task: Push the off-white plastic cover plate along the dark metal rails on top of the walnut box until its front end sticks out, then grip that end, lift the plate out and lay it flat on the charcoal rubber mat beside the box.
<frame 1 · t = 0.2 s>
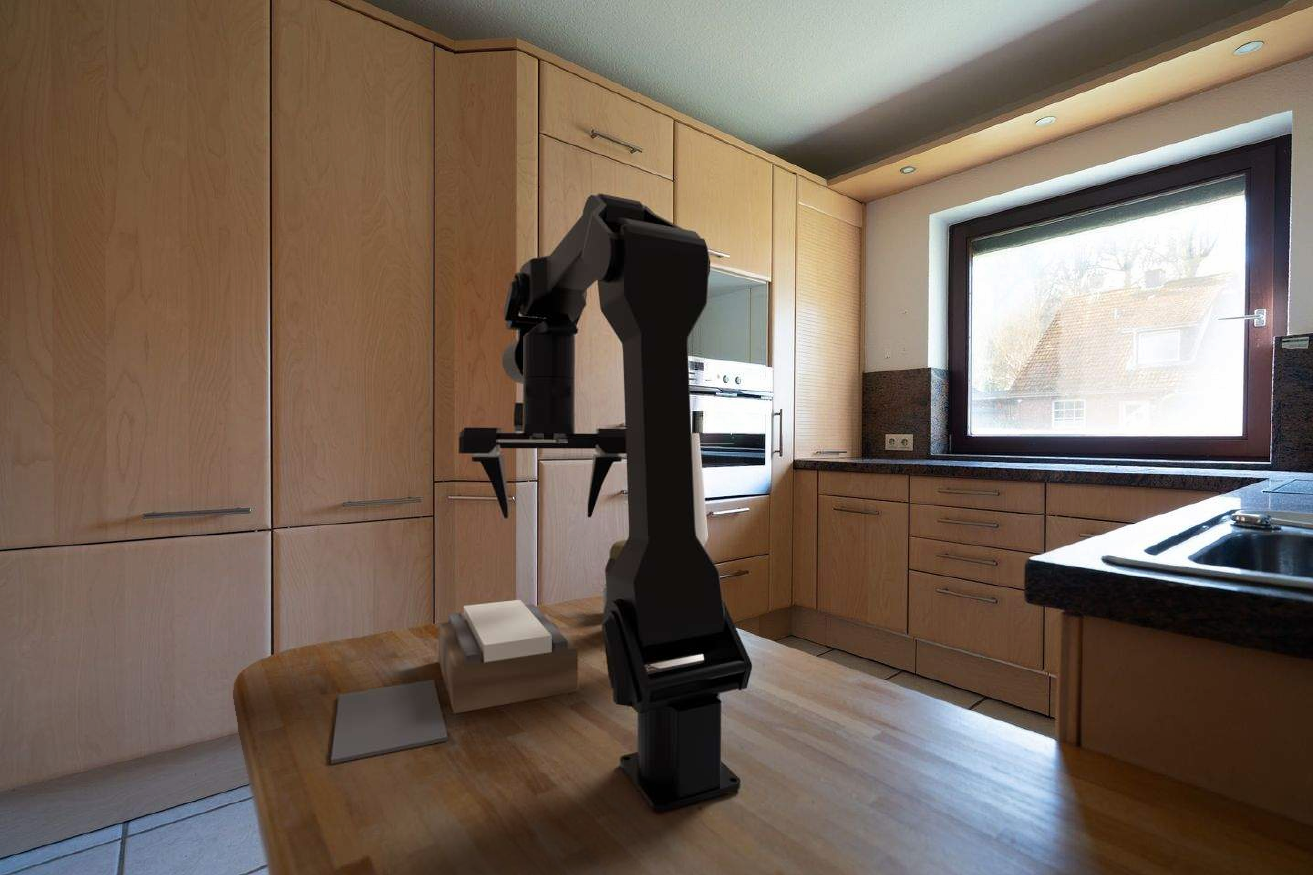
hand: (548, 517, 68), 14 cm above the table, tool pointing down, fingers open, 9 cm apart
lid box: (504, 675, 60), on the table
champagne flute: (675, 660, 65), on the table
cork: (630, 633, 73), on the table
cover plate: (504, 634, 60), point 4 cm above the table, touching lid box
lighter: (614, 614, 81), on the table
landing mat: (389, 717, 51), on the table
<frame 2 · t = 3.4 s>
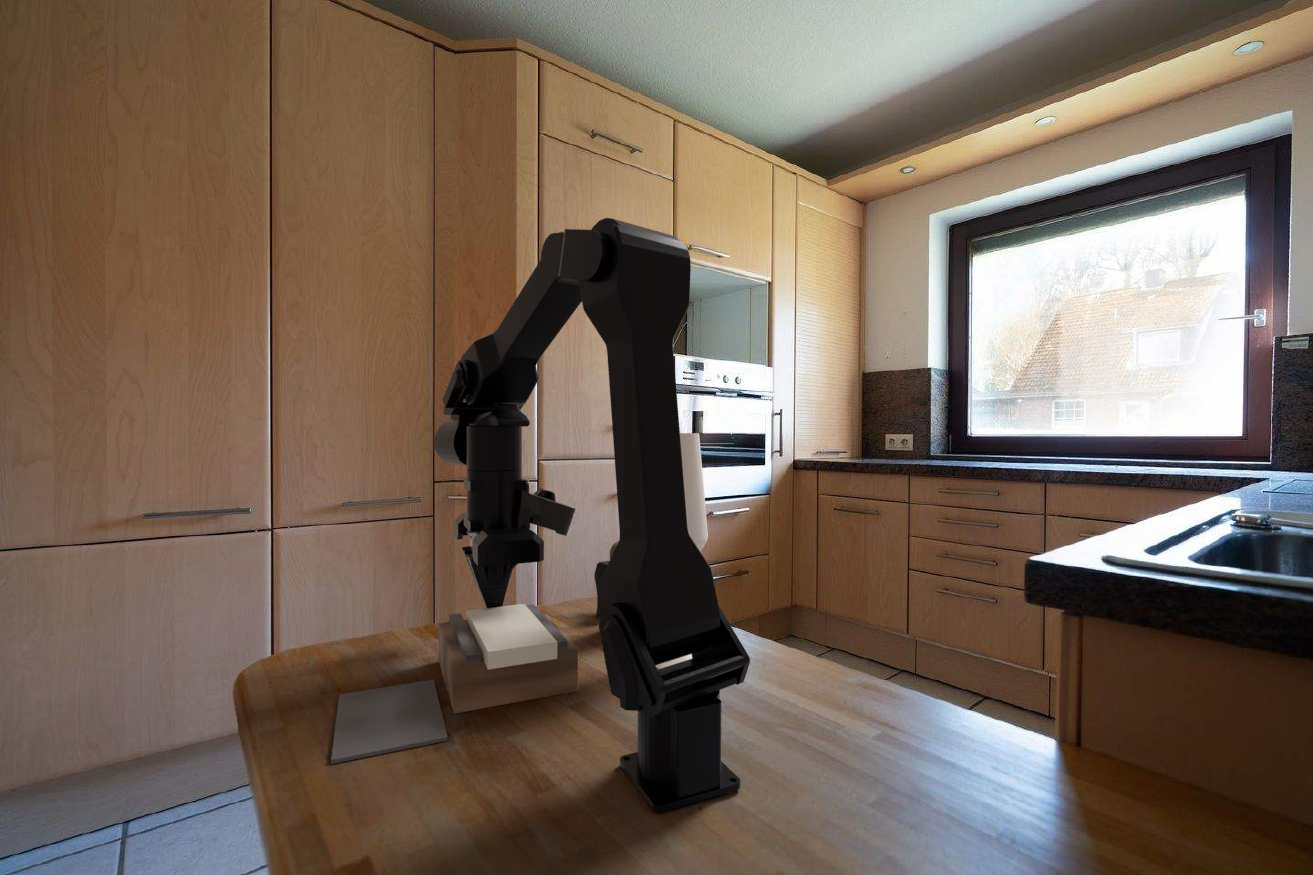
hand: (494, 615, 65), 4 cm above the table, tool pointing down, fingers closed
cover plate: (508, 640, 58), point 4 cm above the table, touching gripper
everything else where it was.
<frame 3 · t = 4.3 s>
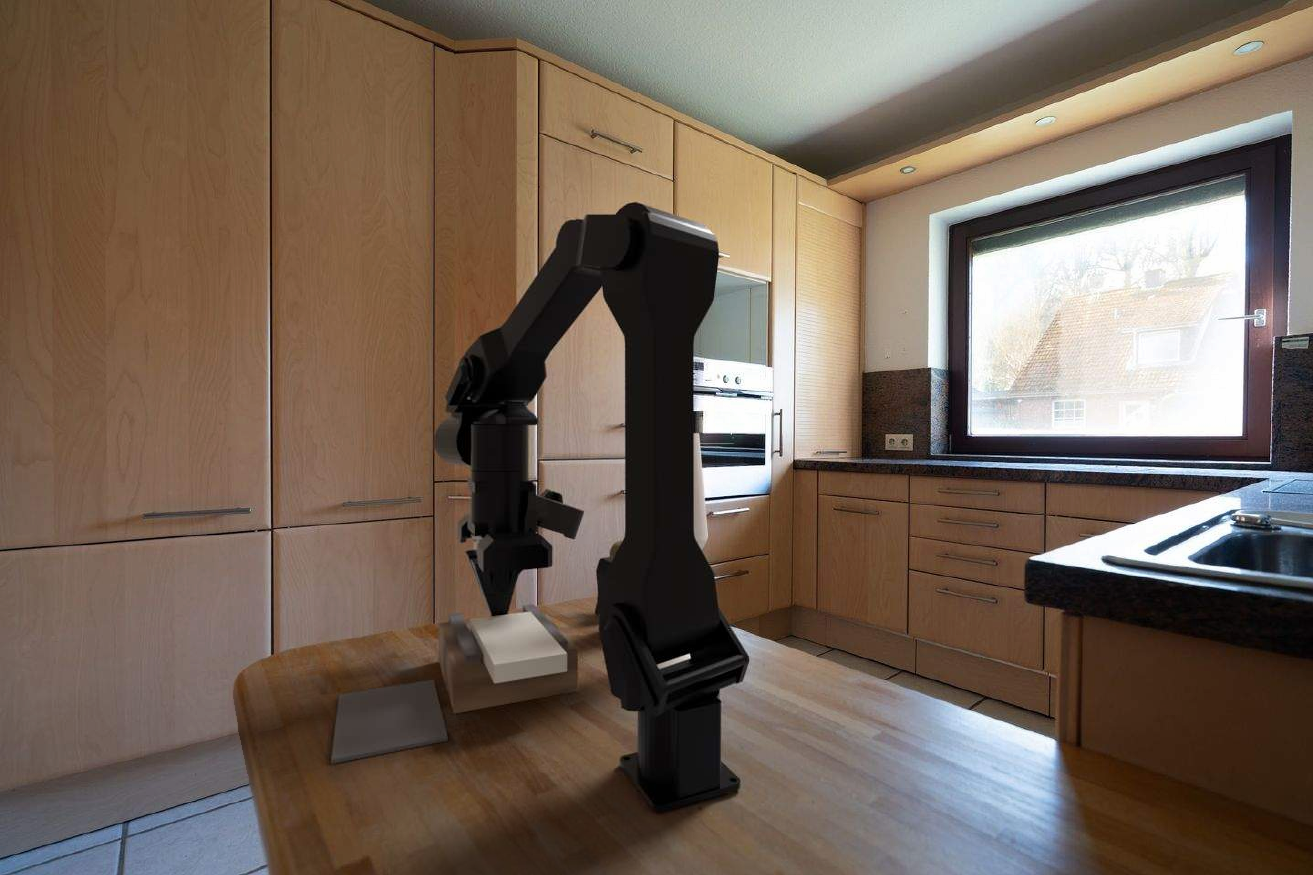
hand: (499, 622, 62), 5 cm above the table, tool pointing down, fingers closed
cover plate: (514, 651, 55), point 4 cm above the table, touching gripper, lid box
everything else where it was.
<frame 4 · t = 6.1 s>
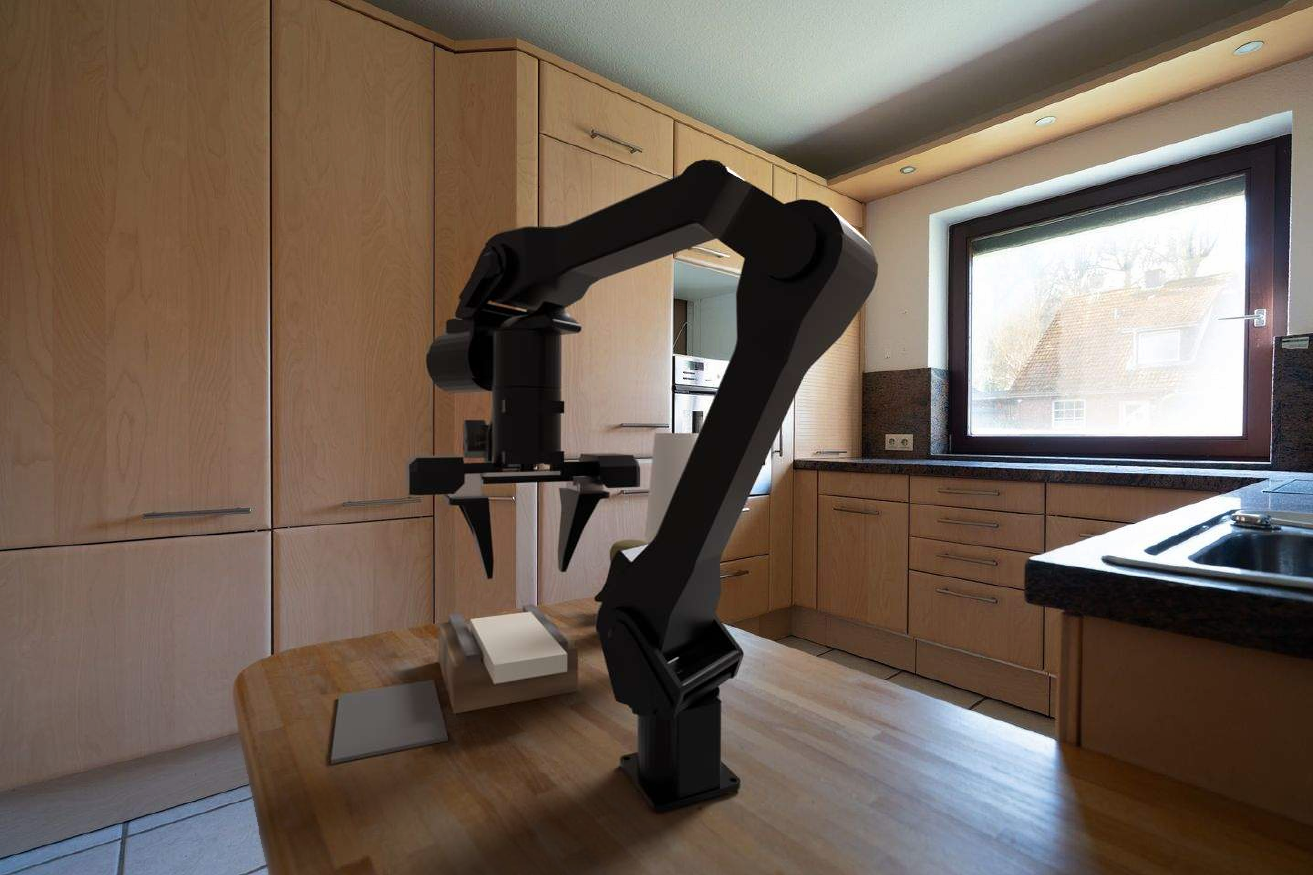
hand: (526, 574, 51), 12 cm above the table, tool pointing down, fingers open, 6 cm apart
cover plate: (514, 651, 55), point 4 cm above the table, touching lid box
everything else where it was.
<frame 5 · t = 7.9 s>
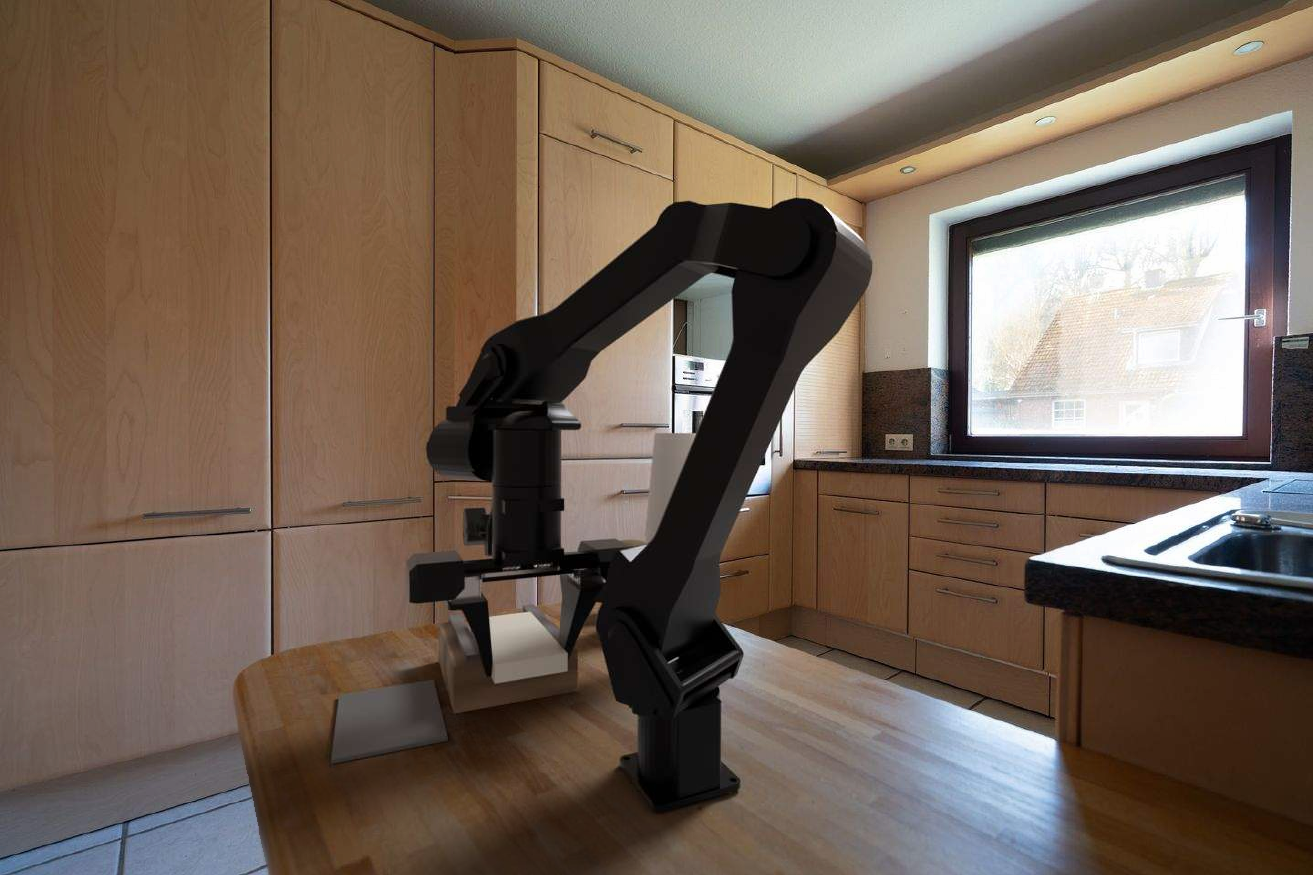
hand: (526, 668, 51), 4 cm above the table, tool pointing down, fingers closed on cover plate, 6 cm apart
cover plate: (514, 651, 55), point 4 cm above the table, touching gripper, lid box
everything else where it was.
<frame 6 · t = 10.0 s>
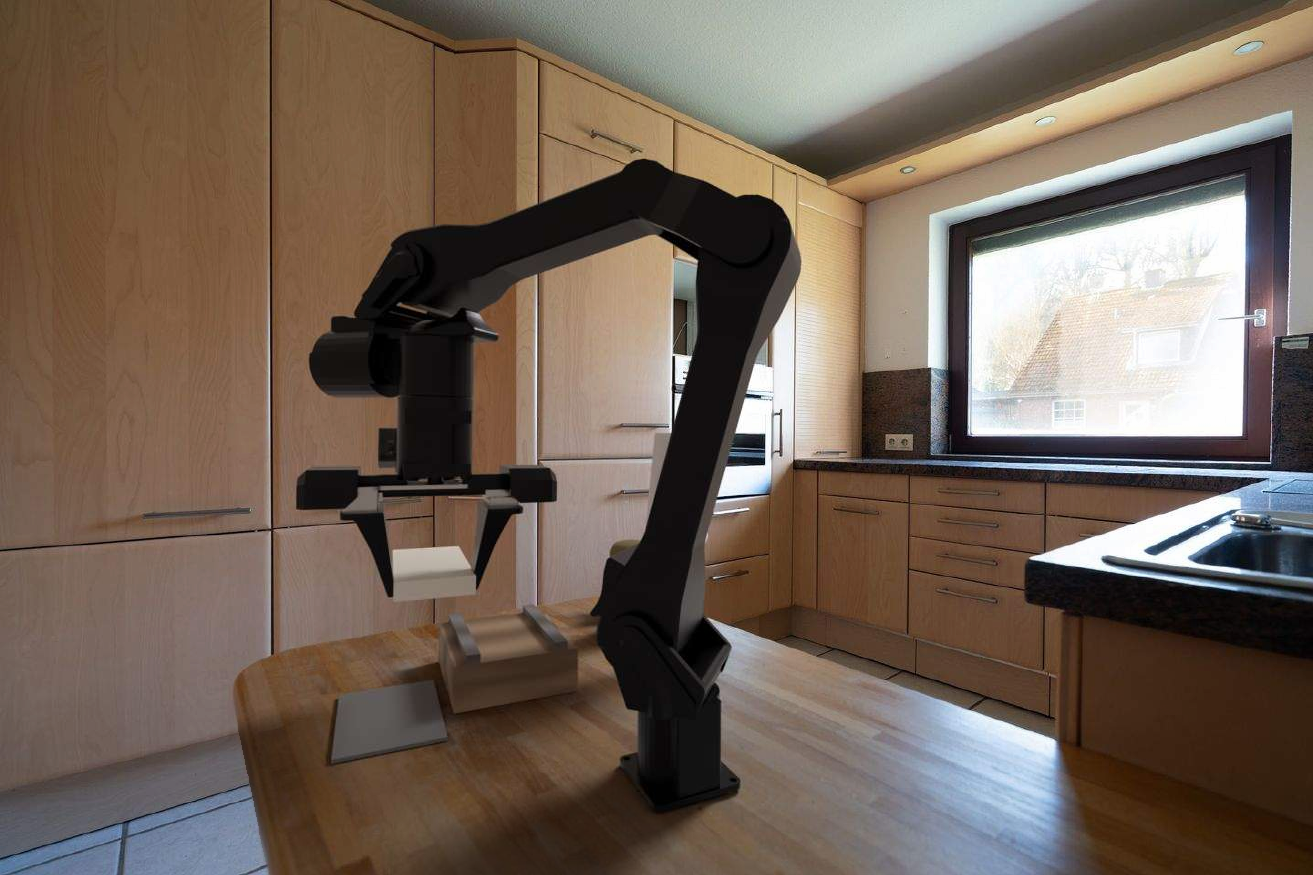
hand: (433, 592, 49), 11 cm above the table, tool pointing down, fingers closed on cover plate, 6 cm apart
cover plate: (430, 578, 53), point 11 cm above the table, touching gripper
everything else where it was.
when the fingers open (1 cm above the table, at t = 12.3 s): cover plate stays where it is, resting on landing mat.
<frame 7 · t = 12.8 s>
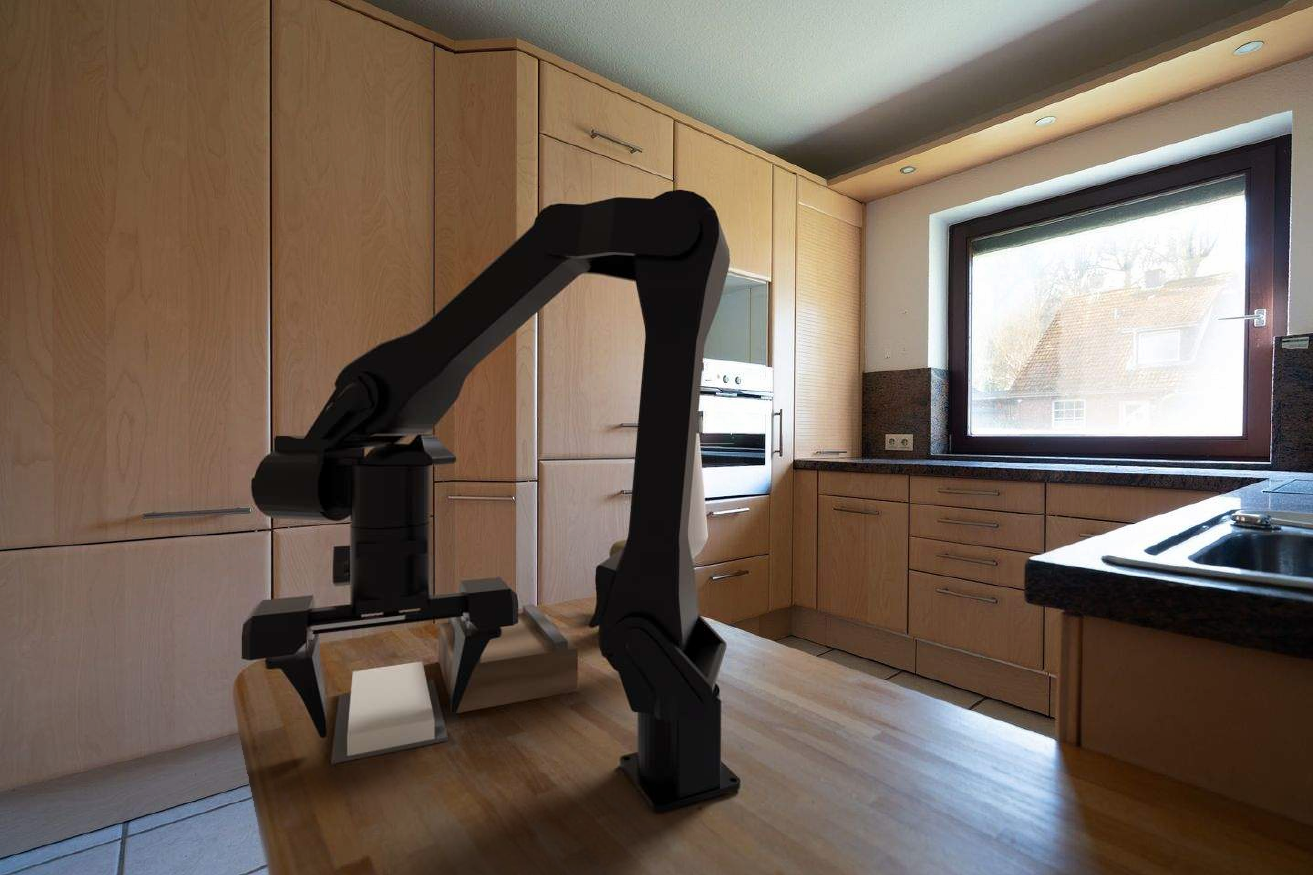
hand: (391, 723, 47), 1 cm above the table, tool pointing down, fingers open, 9 cm apart
cover plate: (389, 710, 51), resting on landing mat
everything else where it was.
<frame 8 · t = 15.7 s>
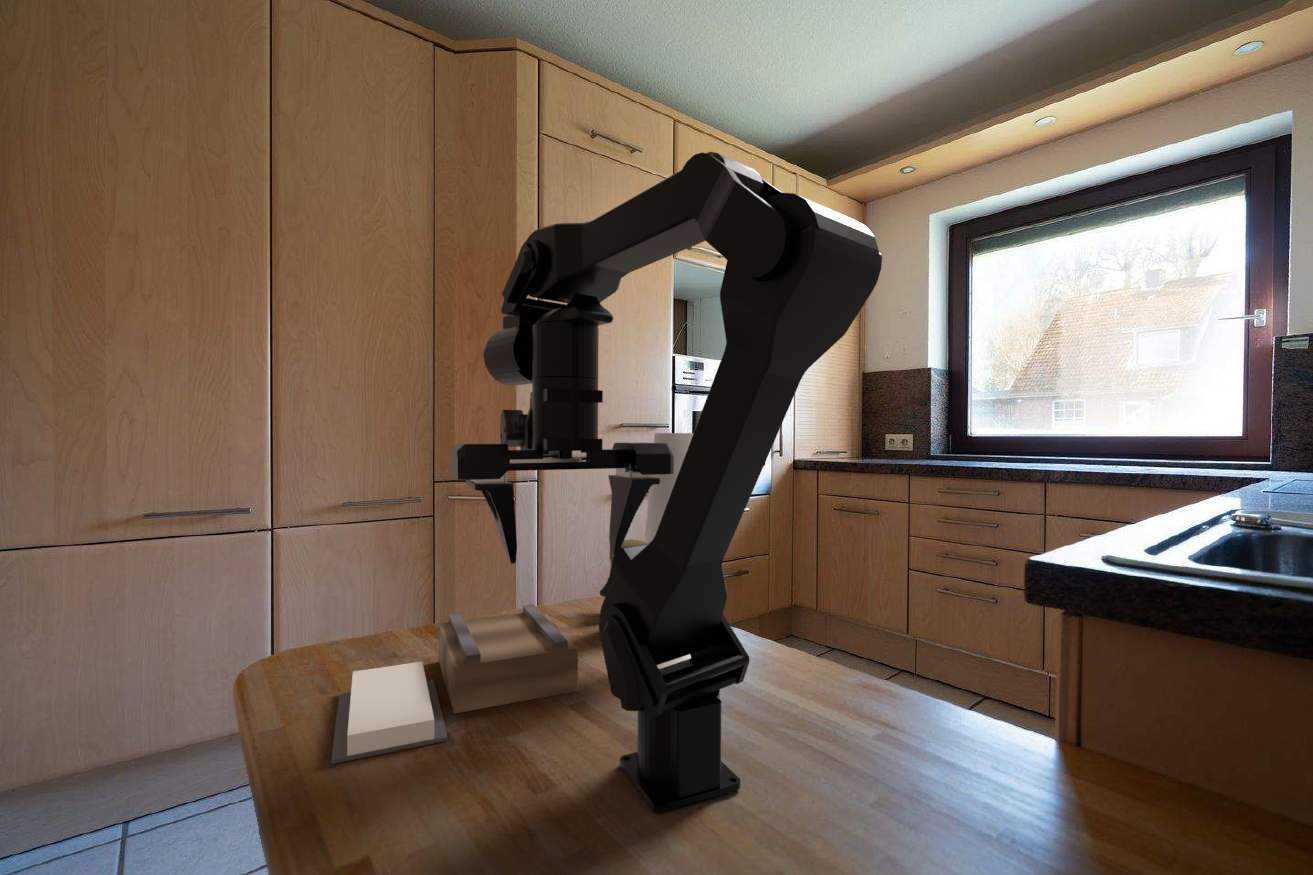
hand: (564, 558, 53), 13 cm above the table, tool pointing down, fingers open, 9 cm apart
nothing on the table moved.
at the end: cover plate inside the target area on the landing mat (0.6 cm from its centre), point 0.3 cm above the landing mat's base; cover plate tilted 0°; cover plate touching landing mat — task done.
